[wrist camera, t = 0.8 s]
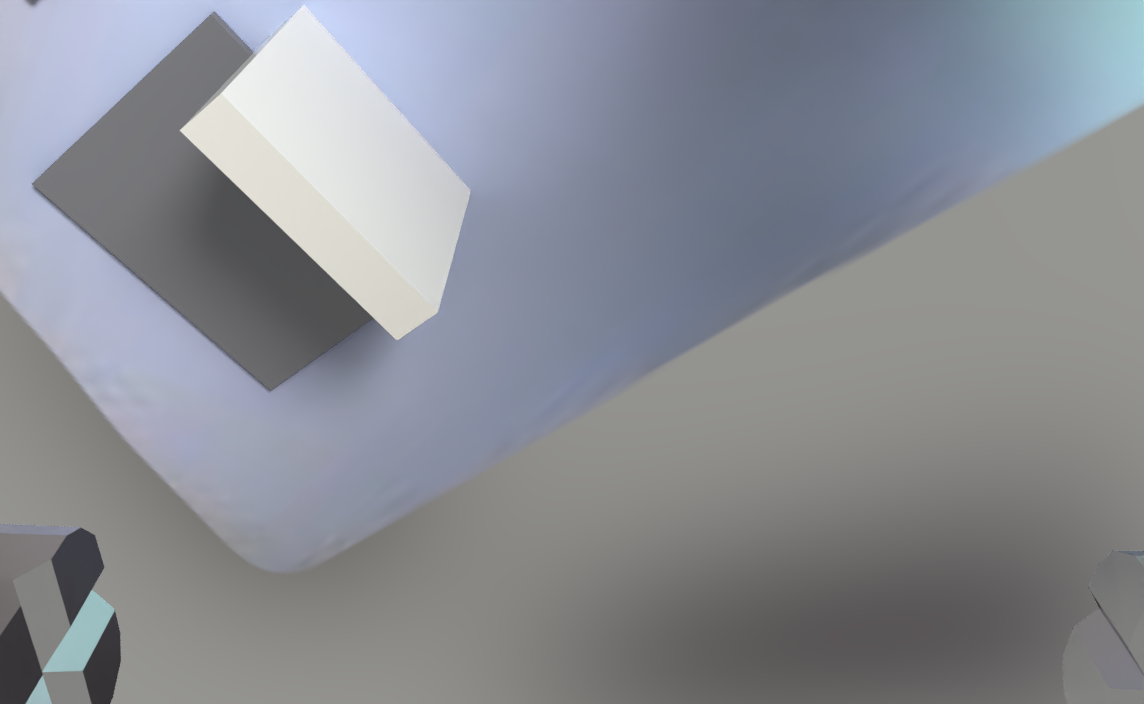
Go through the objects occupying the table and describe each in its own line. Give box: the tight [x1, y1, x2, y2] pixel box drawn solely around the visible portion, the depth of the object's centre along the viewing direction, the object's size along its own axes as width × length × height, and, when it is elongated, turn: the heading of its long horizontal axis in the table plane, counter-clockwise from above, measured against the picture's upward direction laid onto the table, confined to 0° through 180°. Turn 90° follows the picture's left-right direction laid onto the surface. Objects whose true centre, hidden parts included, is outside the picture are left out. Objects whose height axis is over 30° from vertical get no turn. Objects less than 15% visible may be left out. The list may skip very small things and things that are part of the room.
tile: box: [180, 5, 471, 340], centre depth 37 cm, size 2×10×10 cm, turn 38°
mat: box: [32, 12, 373, 391], centre depth 44 cm, size 12×14×1 cm
